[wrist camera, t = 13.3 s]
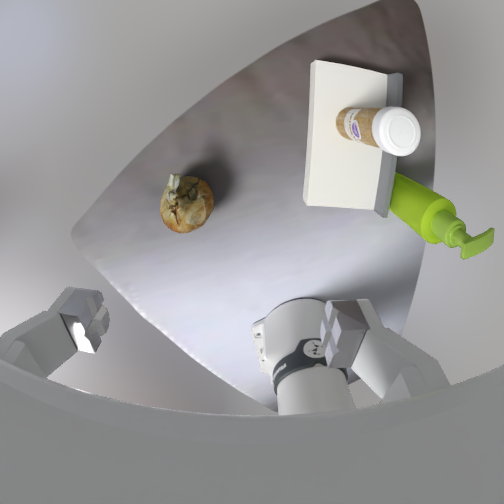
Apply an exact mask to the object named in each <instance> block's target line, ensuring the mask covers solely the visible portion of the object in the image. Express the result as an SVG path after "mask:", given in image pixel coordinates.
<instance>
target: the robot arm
mask: <svg viewBox="0 0 504 504" xmlns="http://www.w3.org/2000/svg"><path fill="white" fill-rule="evenodd" d="M103 302H104V298H103V295H102V293H101V292H100V291H98V290H90V289H82V288H74V287H68V288H66V289H65V290H64V291H63V292H62V294H61V295H60V296H59V297H58V298H57V300H56V301H55V302H54V303H53V305H52V306H51V307H50V309H49V310H48V311H43V312H41V313H39V314H38V315H36V316H34V317H32V318H30V319H29V320H27V321H25V322H23V323H21V324H19V325H17V326H16V327H14V328H12V329H10V330H8V331H7V332H5V333H3V334H2V336H1V337H0V504H504V365H502V366H500V367H498V368H495V369H493V370H491V371H489V372H486V373H484V374H481V375H479V376H476V377H474V378H471V379H468V380H466V381H463V382H460V383H457V384H455V385H450V383H449V381H448V379H447V378H446V376H445V374H444V372H443V370H442V368H441V366H440V364H439V363H438V361H437V360H436V359H434V358H433V357H431V356H430V355H428V354H427V353H425V352H424V351H422V350H421V349H419V348H418V347H416V346H415V345H413V344H412V343H410V342H409V341H407V340H406V339H404V338H402V337H401V336H400V335H398V334H397V333H395V332H394V331H392V330H391V329H389V328H384V326H383V324H382V322H381V320H380V318H379V316H378V315H377V313H376V311H375V309H374V307H373V305H372V303H371V302H370V300H369V299H355V300H328V301H327V303H324V302H322V301H319V300H314V299H298V300H293V301H289V302H287V303H284V304H282V305H280V306H279V307H277V308H275V309H274V310H273V311H272V312H271V313H270V314H269V315H268V316H267V317H266V318H264V319H263V320H260V321H258V322H256V323H254V324H253V325H252V326H251V331H252V336H253V340H254V344H255V348H256V352H257V356H258V360H259V364H260V368H261V371H262V373H264V374H267V375H270V380H271V384H272V385H273V388H274V391H275V393H276V395H277V398H278V411H279V415H265V416H264V415H262V416H254V415H253V416H252V415H249V416H248V415H222V414H207V413H196V412H195V413H194V412H186V411H178V410H169V409H163V408H157V407H150V406H145V405H140V404H134V403H130V402H124V401H120V400H116V399H112V398H107V397H103V396H99V395H95V394H92V393H88V392H85V391H81V390H78V389H75V388H72V387H68V386H65V385H62V384H59V383H56V382H54V381H51V380H48V378H47V377H48V376H49V375H50V374H51V373H52V372H53V371H54V370H56V369H57V368H58V367H59V366H61V364H63V363H64V362H65V361H66V360H68V359H69V358H70V357H71V356H73V355H74V354H75V353H76V352H77V350H79V351H84V352H89V353H96V351H97V349H98V347H99V345H100V343H101V337H100V336H102V335H103V334H105V333H106V332H107V329H108V327H109V321H110V319H109V313H108V310H107V308H106V307H105V306H104V305H103ZM346 367H351V369H352V370H353V371H354V372H355V373H356V374H357V375H358V376H359V377H360V378H361V379H362V380H364V382H365V383H366V384H367V385H368V386H369V387H370V388H371V389H372V390H373V391H374V392H375V393H376V394H377V395H378V396H379V397H381V399H382V401H381V402H380V403H379V404H378V405H372V406H367V407H361V408H356V407H355V404H354V402H353V399H352V396H351V393H350V390H349V388H348V384H347V379H348V375H347V368H346Z"/></svg>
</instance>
